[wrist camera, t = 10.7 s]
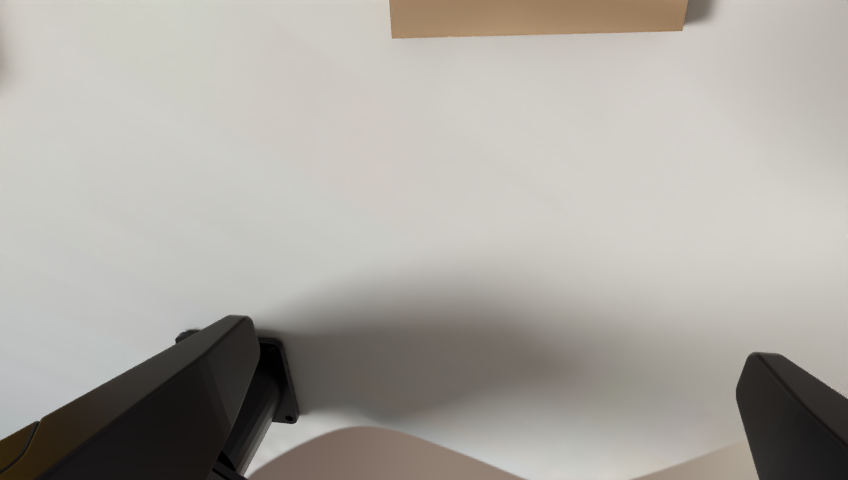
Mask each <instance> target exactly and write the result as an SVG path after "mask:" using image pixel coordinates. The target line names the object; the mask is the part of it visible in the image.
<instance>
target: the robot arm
mask: <svg viewBox="0 0 848 480" xmlns="http://www.w3.org/2000/svg"><path fill="white" fill-rule="evenodd" d="M175 341H176V344H175V345H173V346H172V347H170V348H168V349H166V350H164V351H162V352H161V353H159V354H157V355H155V356H153V357H152V358H150V359H148V360H146V361H144V362H143V363H141V364H139V365H137V366H135V367H133V368H132V369H130V370H128V371H126V372H124V373H123V374H121V375H119V376H117V377H115V378H113V379H112V380H110V381H108V382H106V383H104V384H103V385H101V386H99V387H97V388H95V389H93V390H92V391H90V392H88V393H86V394H84V395H83V396H81V397H79V398H77V399H75V400H73V401H72V402H70V403H68V404H66V405H64V406H63V407H61V408H59V409H57V410H55V411H54V412H52V413H50V414H48V415H46V416H44V417H43V418H42V419H41V420H40V421H35V422H33V423H32V424H30V425H28V426H26V427H24V428H23V429H21V430H19V431H17V432H15V433H14V434H12V435H10V436H8V437H6V438H4V439H2V440H0V480H248V479H247V478H245V477H244V474H245V472H246V470H247V468H248V466H249V464H250V462H251V461H252V459H253V457H254V455H255V453H256V451H257V449H258V447H259V445H260V444H261V442H262V440H263V438H264V436H265V434H266V432H267V430H268V428H269V426H270V425H271V423H272V422H278V423H287V424H294V423H296V422H297V420H298V418H299V410H298V406H297V402H296V398H295V393H294V389H293V385H292V381H291V377H290V372H289V368H288V364H287V360H286V356H285V351H284V347H283V345H282V343H281V342H280V341H278V340H276V339H269V338H257V335H256V331H255V327H254V324H253V321H252V319H251V318H250V317H248V316H243V315H228V316H226V317H224V318H222V319H221V320H219V321H217V322H215V323H213V324H212V325H210V326H208V327H206V328H204V329H202V330H201V331H199V332H197V333H191V332H182V333H180V334H179V336H178V337H177V338H176V340H175ZM272 347H273V348H272ZM274 348H275V349H274ZM736 400H737V404H738V408H739V411H740V415H741V418H742V422H743V425H744V429H745V432H746V436H747V439H748V442H749V446H750V450H751V453H752V456H753V460H754V464H755V467H756V470H757V474H758V477H759V480H848V399H847V398H845V397H844V396H842V395H841V394H839V393H838V392H836V391H835V390H833V389H832V388H830V387H829V386H827V385H826V384H824V383H823V382H821V381H820V380H818V379H817V378H815V377H814V376H812V375H811V374H809V373H808V372H806V371H805V370H803V369H802V368H800V367H799V366H797V365H796V364H794V363H793V362H791V361H790V360H788V359H787V358H786V357H784V356H782V355H780V354H777V353H765V352H753V353H751V354H750V355H749V356H748V358H747V360H746V362H745V365H744V368H743V370H742V373H741V376H740V379H739V381H738V384H737V387H736Z"/></svg>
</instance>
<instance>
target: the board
mask: <svg viewBox="0 0 848 480" xmlns="http://www.w3.org/2000/svg"><path fill="white" fill-rule="evenodd" d="M389 3H390V17H391V32H392V38H428V37H468V36H507V35H546V34H585V33H624V32H663V31H682V30H683V25H684V20H685V15H686V10H687V5H688V0H389Z"/></svg>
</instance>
